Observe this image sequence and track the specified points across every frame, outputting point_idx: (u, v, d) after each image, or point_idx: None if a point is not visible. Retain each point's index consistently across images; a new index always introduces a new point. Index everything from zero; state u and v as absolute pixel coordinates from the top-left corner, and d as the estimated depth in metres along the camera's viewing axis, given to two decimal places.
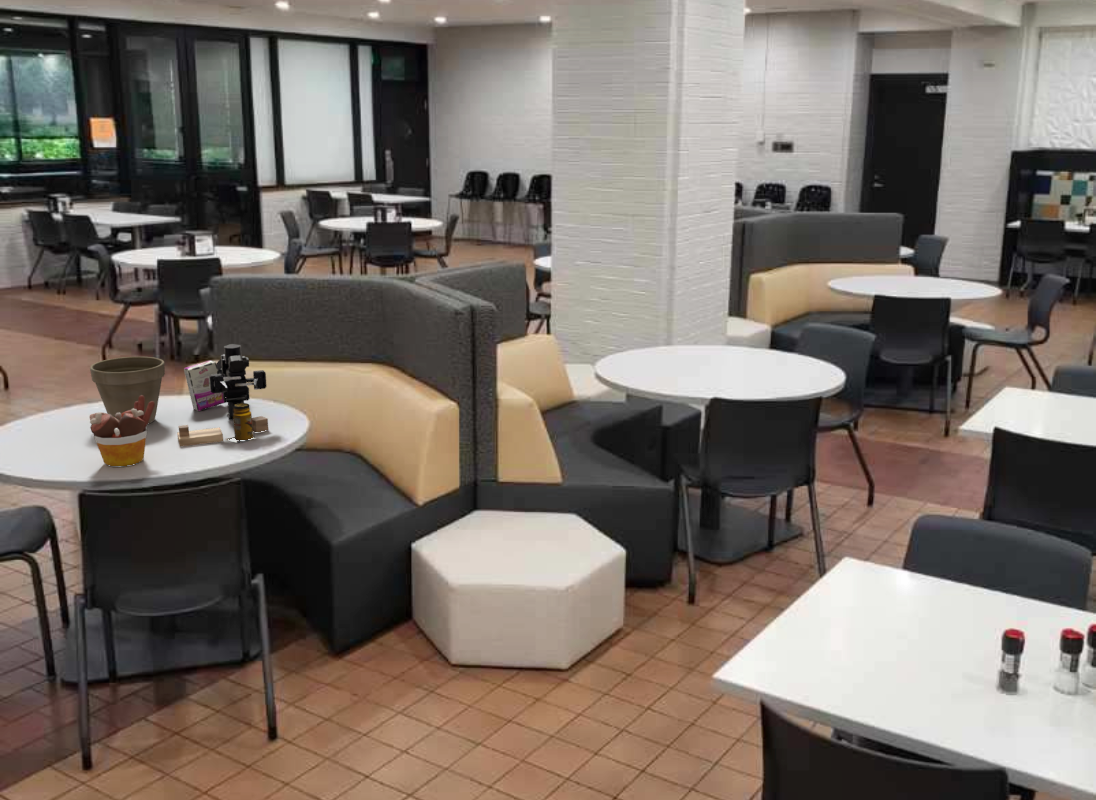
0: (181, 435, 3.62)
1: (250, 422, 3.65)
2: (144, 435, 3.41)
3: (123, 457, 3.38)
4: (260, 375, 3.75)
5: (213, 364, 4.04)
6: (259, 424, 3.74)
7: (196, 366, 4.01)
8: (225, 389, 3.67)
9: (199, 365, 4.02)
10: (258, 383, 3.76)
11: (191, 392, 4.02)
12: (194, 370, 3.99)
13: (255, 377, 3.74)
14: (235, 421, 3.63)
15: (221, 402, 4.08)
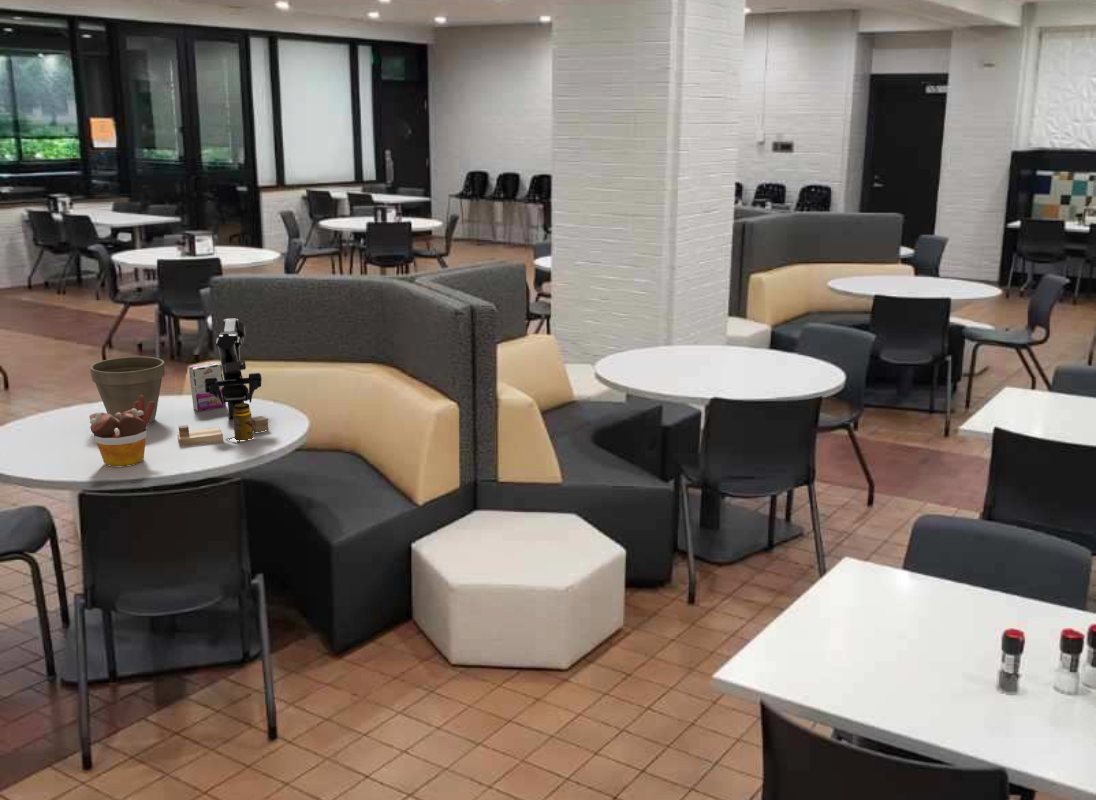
0: (181, 435, 3.62)
1: (250, 422, 3.65)
2: (144, 435, 3.41)
3: (123, 457, 3.38)
4: (256, 382, 3.73)
5: (219, 366, 4.05)
6: (259, 424, 3.74)
7: (201, 366, 4.02)
8: (221, 403, 3.68)
9: (204, 366, 4.03)
10: (253, 386, 3.75)
11: (193, 392, 4.02)
12: (199, 370, 4.00)
13: (251, 385, 3.72)
14: (235, 421, 3.63)
15: (222, 405, 4.08)
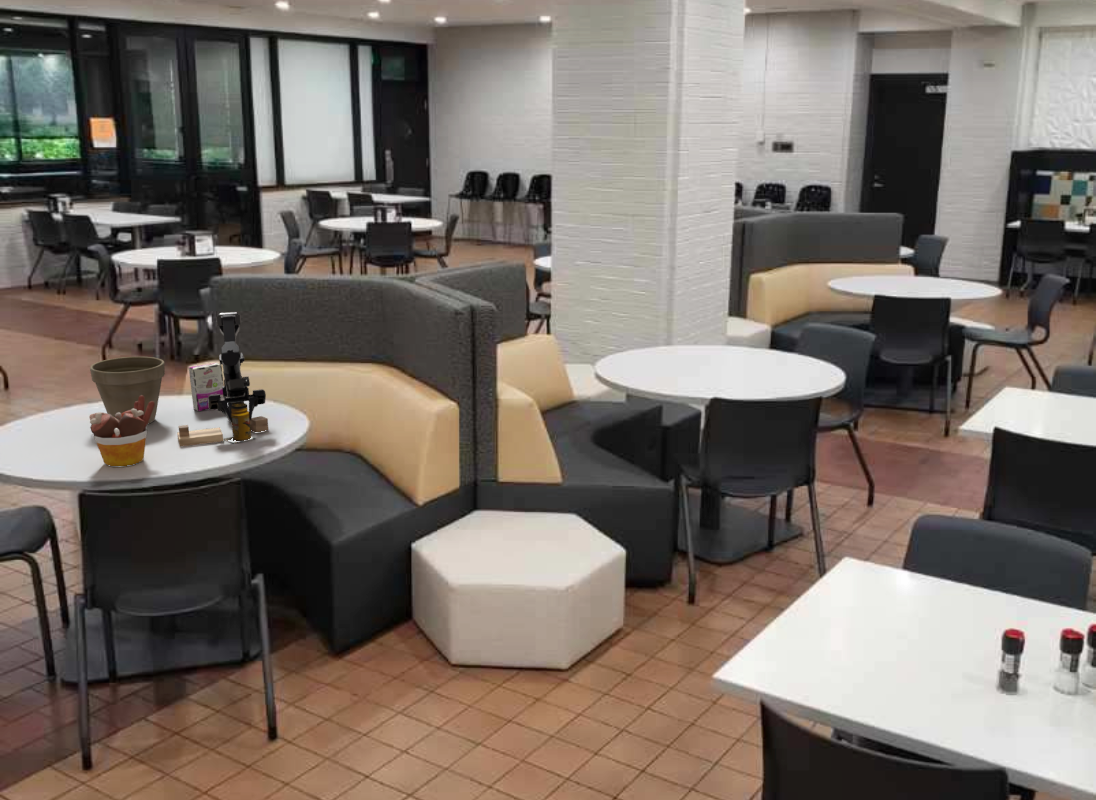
0: (181, 435, 3.62)
1: (248, 422, 3.65)
2: (144, 435, 3.41)
3: (123, 457, 3.38)
4: (256, 399, 3.68)
5: (219, 366, 4.05)
6: (259, 424, 3.74)
7: (201, 366, 4.02)
8: (229, 420, 3.64)
9: (204, 366, 4.03)
10: None
11: (193, 392, 4.02)
12: (199, 370, 4.00)
13: (251, 402, 3.67)
14: (233, 421, 3.63)
15: None
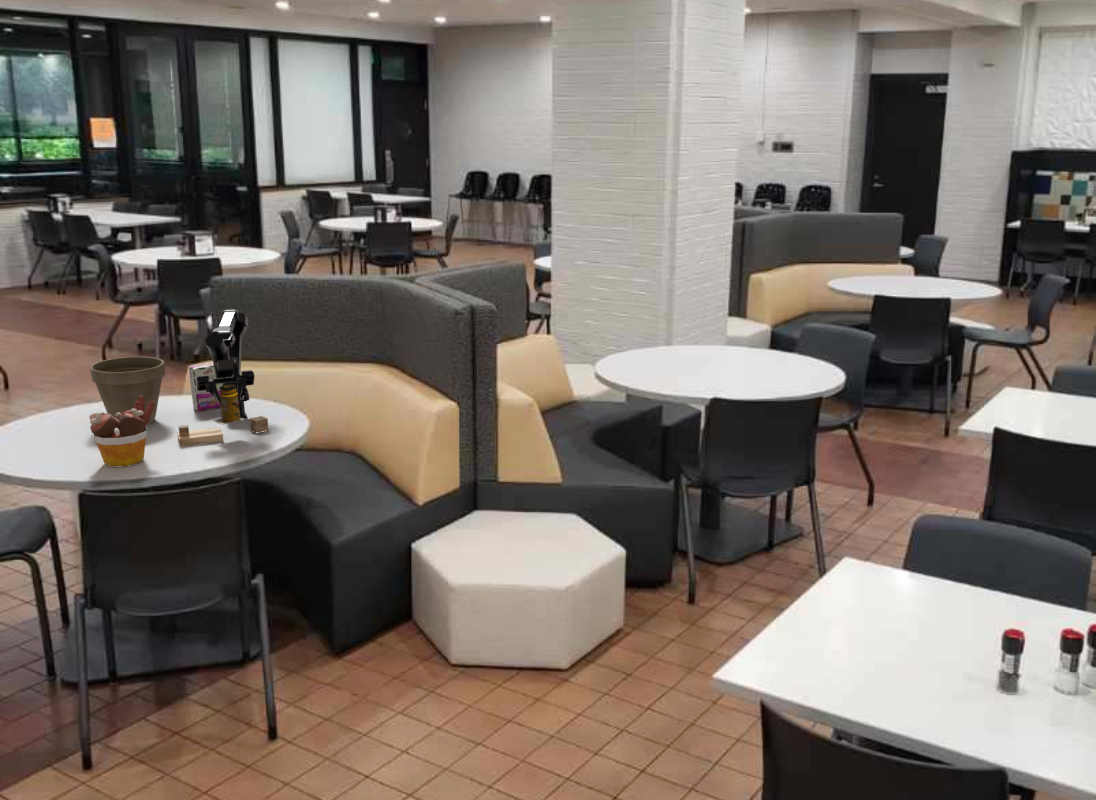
0: (181, 435, 3.62)
1: (237, 403, 3.64)
2: (144, 435, 3.41)
3: (123, 457, 3.38)
4: (244, 380, 3.67)
5: None
6: (259, 424, 3.74)
7: (201, 366, 4.02)
8: (218, 401, 3.62)
9: (204, 366, 4.03)
10: None
11: (193, 392, 4.02)
12: (199, 370, 4.00)
13: (239, 383, 3.66)
14: (222, 402, 3.62)
15: None
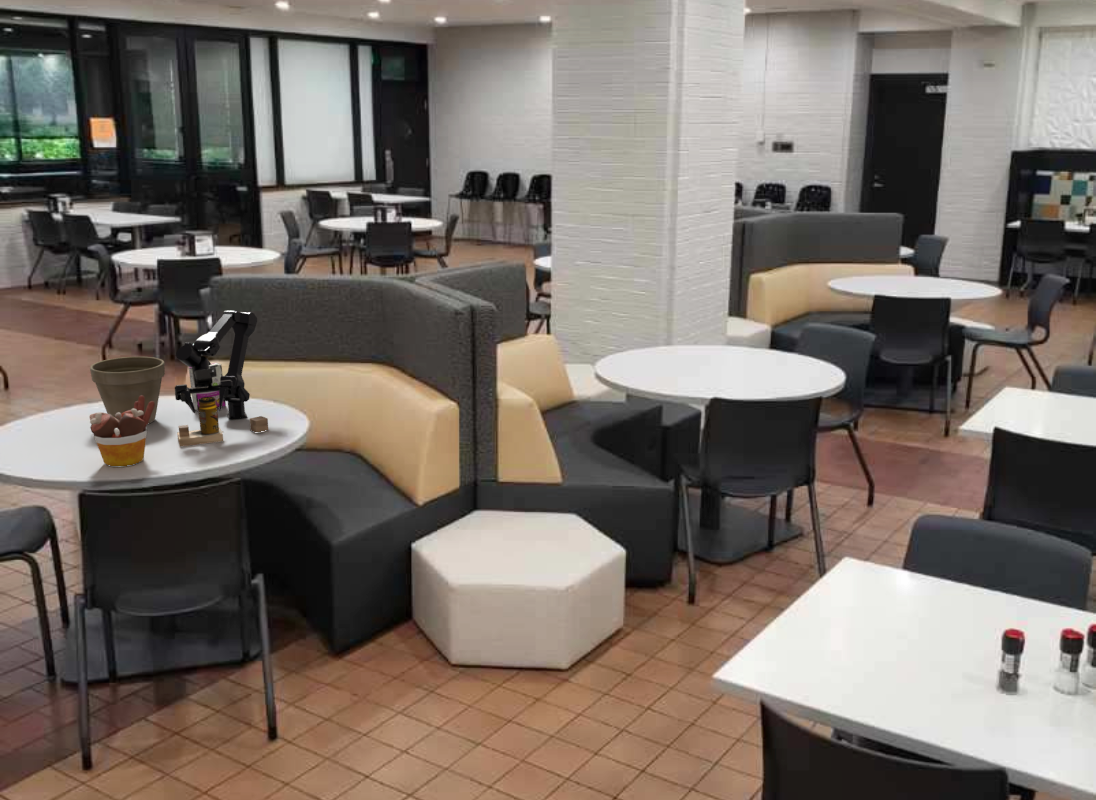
0: (181, 435, 3.62)
1: (216, 416, 3.64)
2: (144, 435, 3.41)
3: (123, 457, 3.38)
4: (226, 389, 3.67)
5: (219, 366, 4.05)
6: (259, 424, 3.74)
7: None
8: (192, 410, 3.62)
9: None
10: (223, 394, 3.69)
11: None
12: None
13: (221, 392, 3.66)
14: (200, 415, 3.62)
15: (222, 405, 4.08)
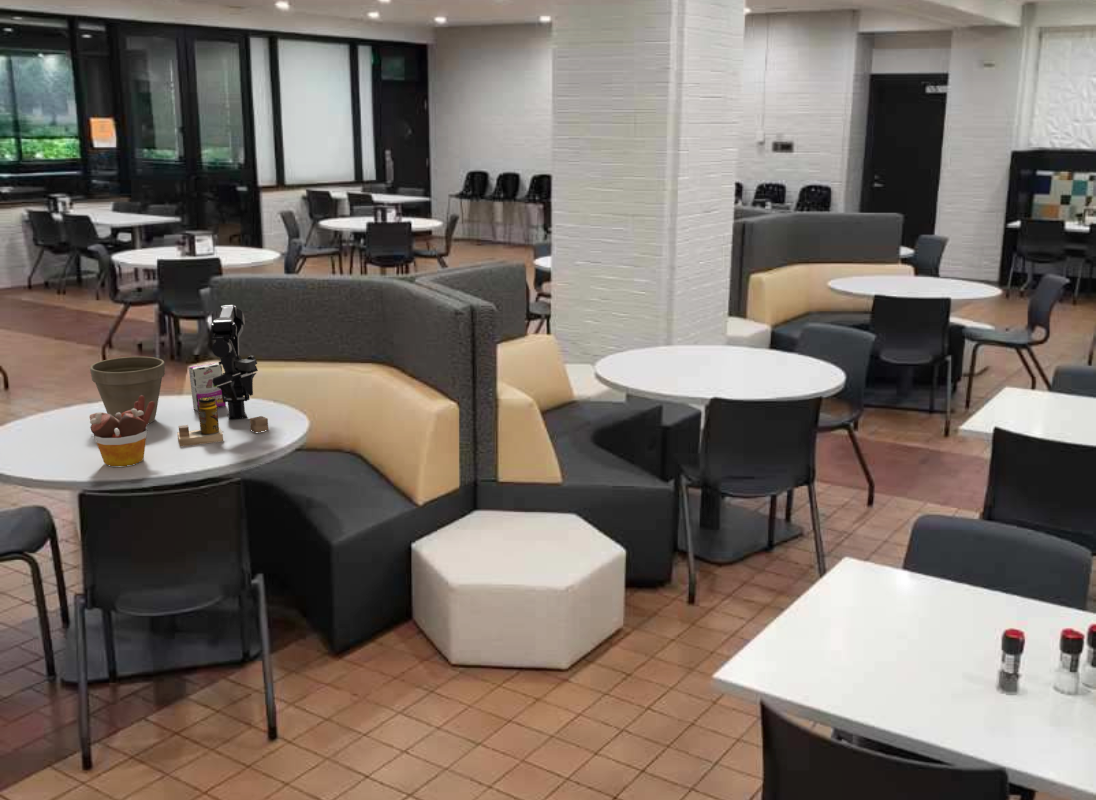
0: (181, 435, 3.62)
1: (216, 416, 3.64)
2: (144, 435, 3.41)
3: (123, 457, 3.38)
4: None
5: (219, 366, 4.05)
6: (259, 424, 3.74)
7: (201, 366, 4.02)
8: (233, 399, 3.70)
9: (204, 366, 4.03)
10: None
11: (193, 392, 4.02)
12: (199, 370, 4.00)
13: (251, 378, 3.79)
14: (200, 415, 3.62)
15: (222, 405, 4.08)
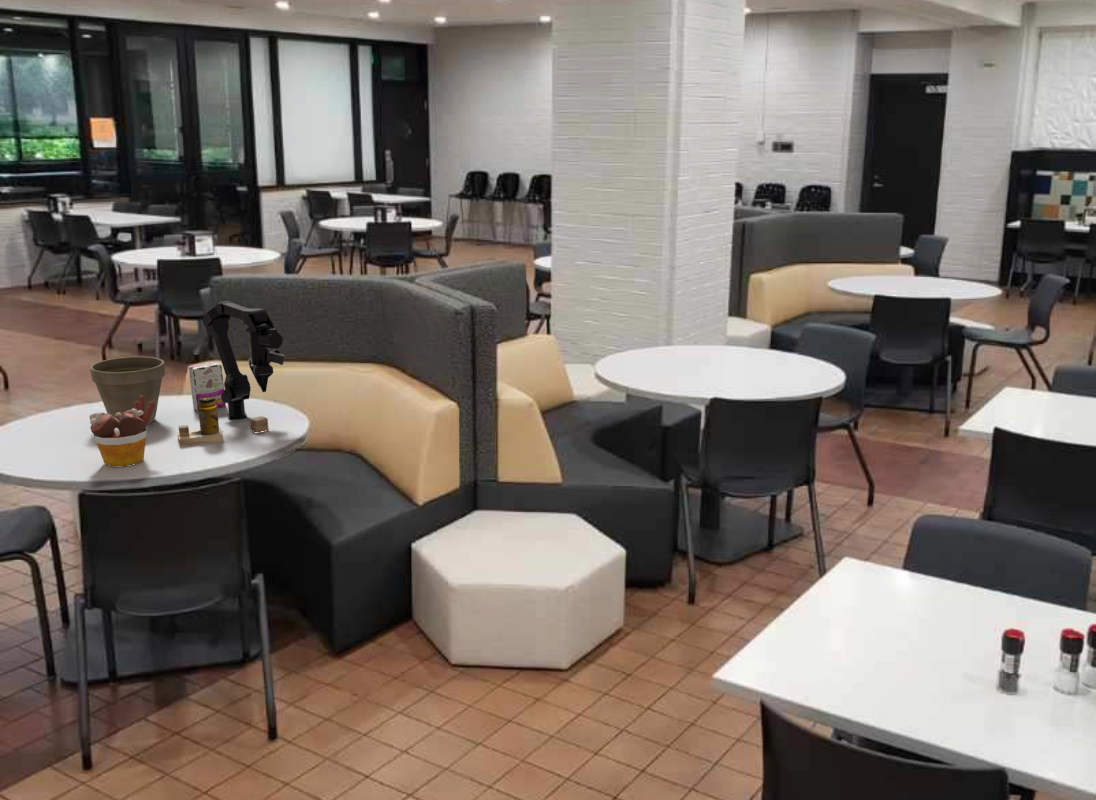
0: (181, 435, 3.62)
1: (216, 416, 3.64)
2: (144, 435, 3.41)
3: (123, 457, 3.38)
4: None
5: (219, 366, 4.05)
6: (259, 424, 3.74)
7: (201, 366, 4.02)
8: (263, 389, 3.76)
9: (204, 366, 4.03)
10: None
11: (193, 392, 4.02)
12: (199, 370, 4.00)
13: None
14: (200, 415, 3.62)
15: (222, 405, 4.08)
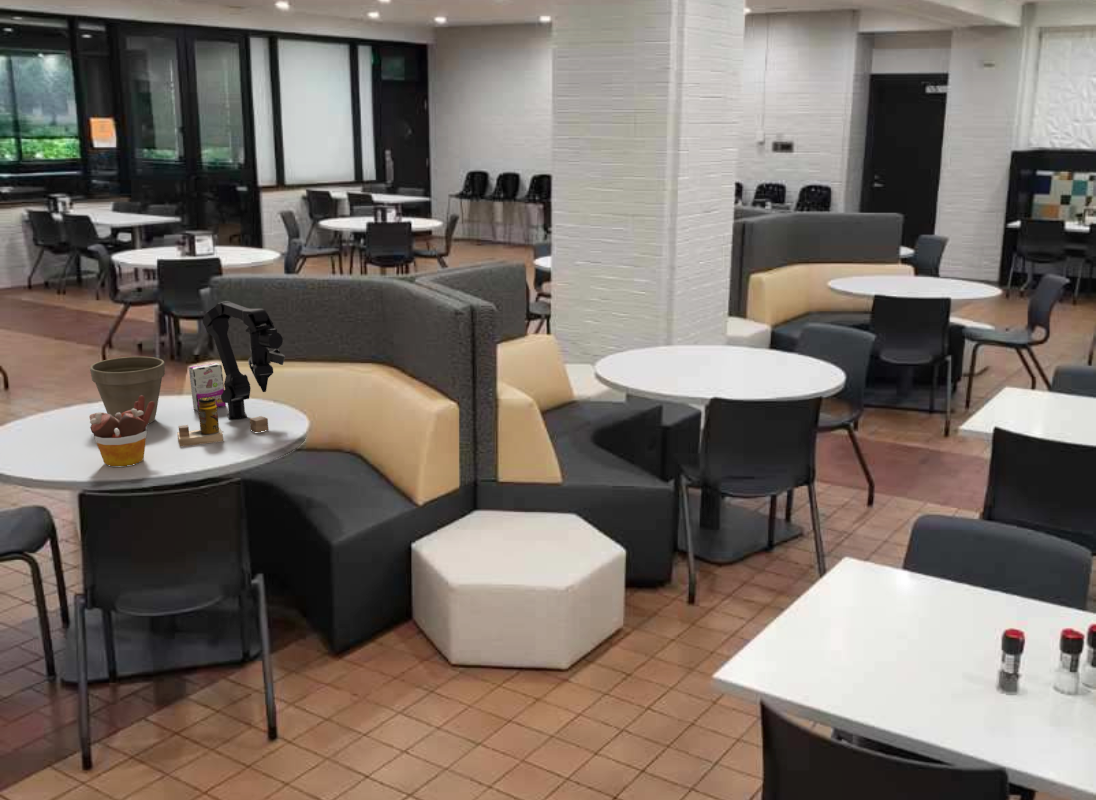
0: (181, 435, 3.62)
1: (216, 416, 3.64)
2: (144, 435, 3.41)
3: (123, 457, 3.38)
4: None
5: (219, 366, 4.05)
6: (259, 424, 3.74)
7: (201, 366, 4.02)
8: (263, 389, 3.76)
9: (204, 366, 4.03)
10: None
11: (193, 392, 4.02)
12: (199, 370, 4.00)
13: None
14: (200, 415, 3.62)
15: (222, 405, 4.08)
